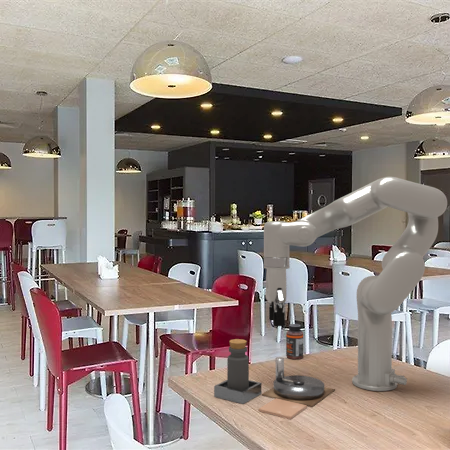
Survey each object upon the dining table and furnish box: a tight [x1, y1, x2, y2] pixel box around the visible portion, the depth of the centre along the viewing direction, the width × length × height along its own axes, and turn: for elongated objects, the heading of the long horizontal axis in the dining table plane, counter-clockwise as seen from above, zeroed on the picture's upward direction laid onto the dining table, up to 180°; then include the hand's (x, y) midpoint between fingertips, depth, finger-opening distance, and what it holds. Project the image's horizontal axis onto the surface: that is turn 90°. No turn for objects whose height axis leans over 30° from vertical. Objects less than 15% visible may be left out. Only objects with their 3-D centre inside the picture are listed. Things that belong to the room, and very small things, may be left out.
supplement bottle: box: [285, 323, 304, 360], centre depth 175 cm, size 6×6×11 cm
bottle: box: [226, 338, 250, 391], centre depth 139 cm, size 6×6×15 cm
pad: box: [258, 398, 308, 420], centre depth 129 cm, size 9×9×1 cm
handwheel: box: [273, 356, 325, 400], centre depth 140 cm, size 14×14×8 cm
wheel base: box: [261, 386, 336, 408], centre depth 140 cm, size 15×15×1 cm
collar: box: [213, 379, 263, 405], centre depth 139 cm, size 9×9×3 cm
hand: (276, 322), depth 149 cm, fingers open, 7 cm apart
